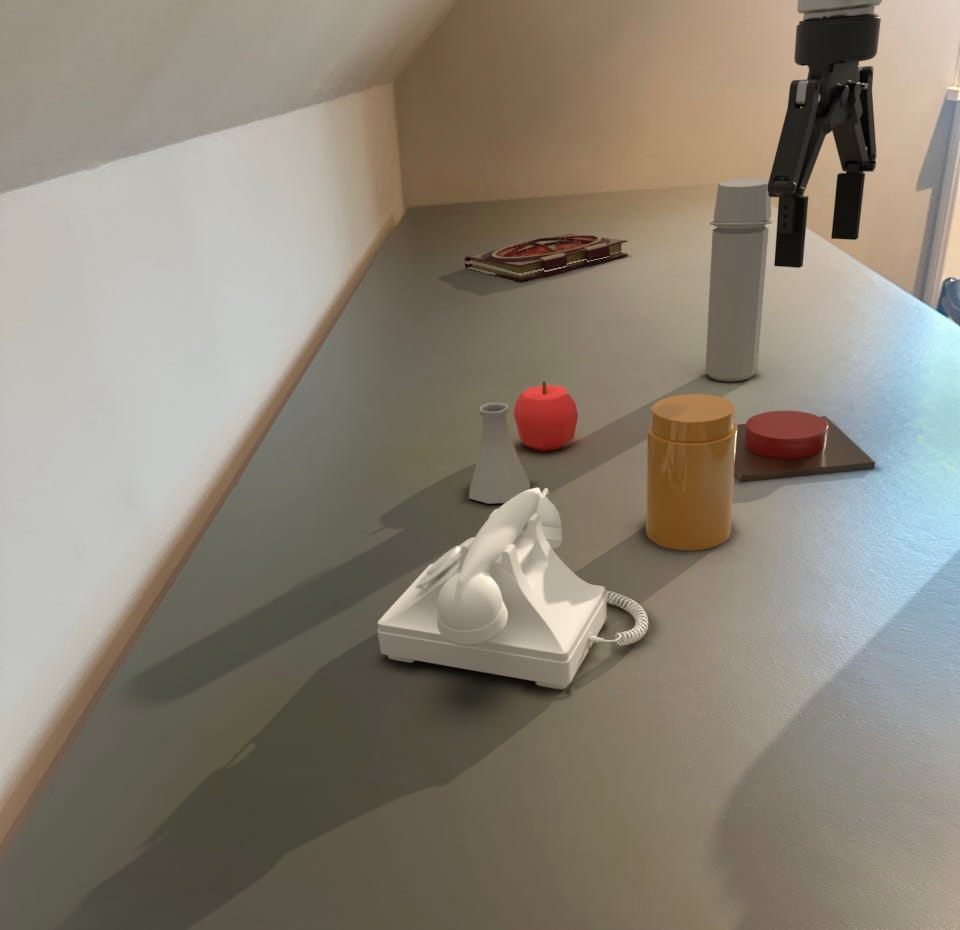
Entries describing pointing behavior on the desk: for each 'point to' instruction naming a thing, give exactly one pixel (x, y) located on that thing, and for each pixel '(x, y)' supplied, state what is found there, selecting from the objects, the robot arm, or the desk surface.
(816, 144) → the robot arm
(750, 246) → the water bottle
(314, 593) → the desk surface
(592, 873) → the desk surface
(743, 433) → the pad
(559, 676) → the telephone
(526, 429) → the apple
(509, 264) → the book
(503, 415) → the flask
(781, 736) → the desk surface
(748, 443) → the lid
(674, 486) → the jar
